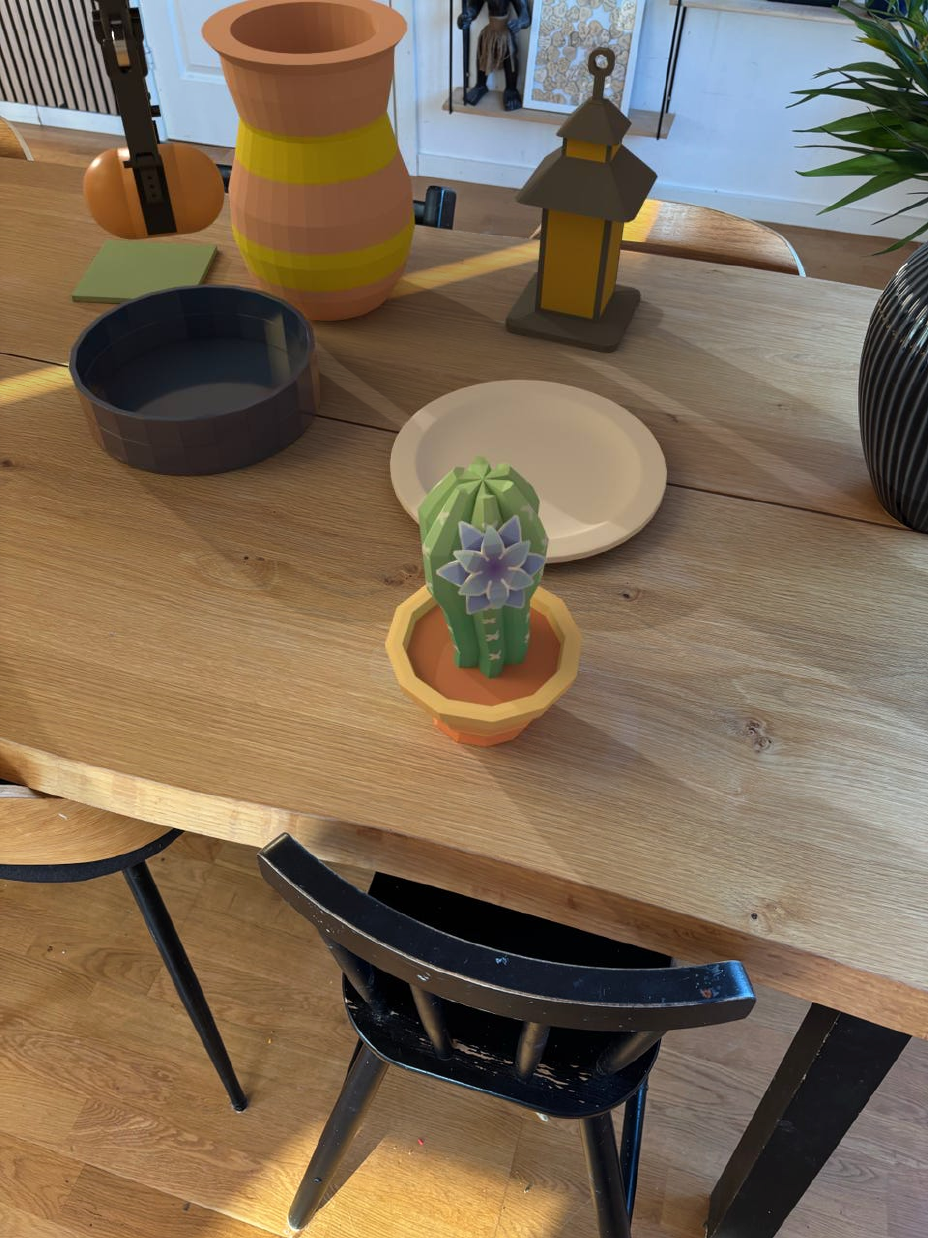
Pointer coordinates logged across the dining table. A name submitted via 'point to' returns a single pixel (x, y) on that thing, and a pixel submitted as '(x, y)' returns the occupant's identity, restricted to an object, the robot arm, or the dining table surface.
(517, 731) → the potted cactus
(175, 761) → the dining table surface
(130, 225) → the orange capsule
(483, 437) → the plate
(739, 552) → the dining table surface
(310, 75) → the vase
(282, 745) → the dining table surface
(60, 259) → the dining table surface
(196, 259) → the mat
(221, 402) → the bowl
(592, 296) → the lantern
